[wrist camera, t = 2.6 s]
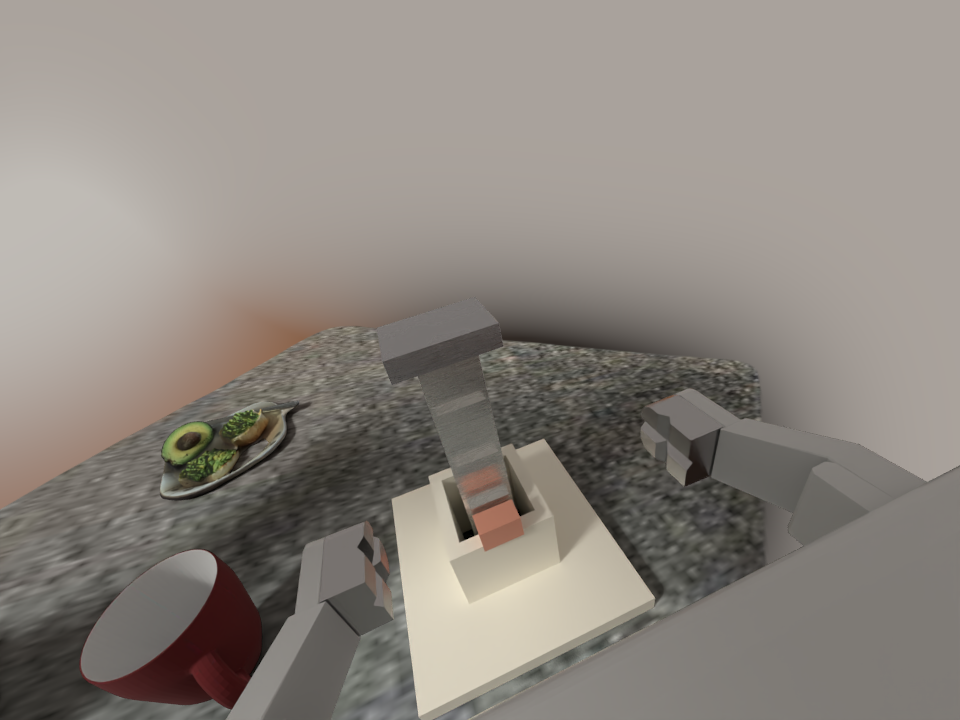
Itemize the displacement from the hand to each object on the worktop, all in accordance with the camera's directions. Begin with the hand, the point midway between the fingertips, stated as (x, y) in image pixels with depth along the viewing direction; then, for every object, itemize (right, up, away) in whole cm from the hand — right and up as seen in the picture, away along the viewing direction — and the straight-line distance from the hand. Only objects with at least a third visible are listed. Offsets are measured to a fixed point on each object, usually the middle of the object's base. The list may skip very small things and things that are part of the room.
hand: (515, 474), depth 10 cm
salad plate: (-39, -11, +44) cm, 60 cm away
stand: (+1, -14, +23) cm, 27 cm away
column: (+1, -14, +23) cm, 27 cm away
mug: (-20, -22, +19) cm, 35 cm away
